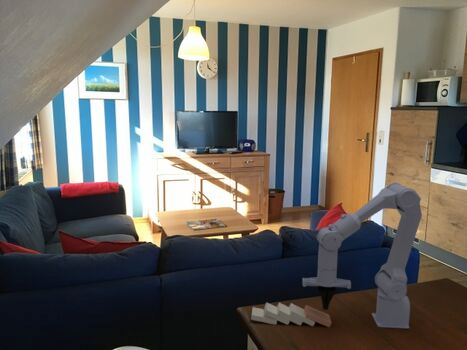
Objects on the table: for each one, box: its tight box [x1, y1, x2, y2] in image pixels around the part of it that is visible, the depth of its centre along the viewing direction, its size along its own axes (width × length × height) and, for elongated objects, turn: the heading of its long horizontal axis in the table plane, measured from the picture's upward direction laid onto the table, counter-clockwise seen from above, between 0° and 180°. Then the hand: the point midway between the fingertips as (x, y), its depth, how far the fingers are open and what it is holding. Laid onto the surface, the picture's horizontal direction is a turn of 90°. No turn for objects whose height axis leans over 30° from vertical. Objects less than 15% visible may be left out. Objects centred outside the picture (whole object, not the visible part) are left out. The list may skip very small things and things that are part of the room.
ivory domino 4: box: [288, 302, 316, 327], centre depth 126 cm, size 2×5×8 cm
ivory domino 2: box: [263, 302, 291, 326], centre depth 127 cm, size 2×5×8 cm
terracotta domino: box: [303, 304, 332, 328], centre depth 126 cm, size 2×5×8 cm
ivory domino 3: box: [276, 302, 304, 326], centre depth 127 cm, size 2×5×8 cm
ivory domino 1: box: [250, 306, 278, 325], centre depth 128 cm, size 2×5×8 cm
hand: (325, 308), depth 126 cm, fingers closed
